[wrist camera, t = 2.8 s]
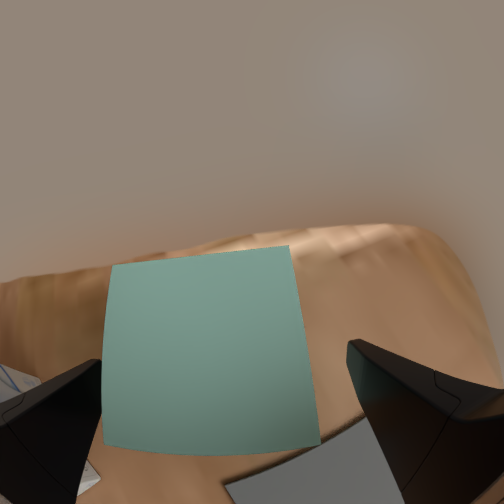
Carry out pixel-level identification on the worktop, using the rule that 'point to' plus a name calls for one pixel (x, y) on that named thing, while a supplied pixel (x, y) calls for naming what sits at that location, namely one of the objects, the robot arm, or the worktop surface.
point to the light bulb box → (15, 383)
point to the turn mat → (326, 474)
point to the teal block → (207, 356)
